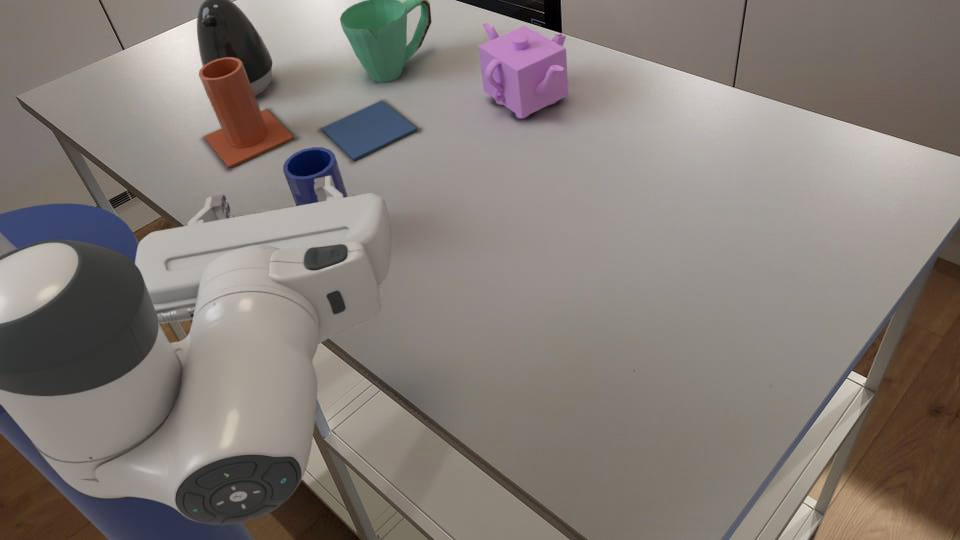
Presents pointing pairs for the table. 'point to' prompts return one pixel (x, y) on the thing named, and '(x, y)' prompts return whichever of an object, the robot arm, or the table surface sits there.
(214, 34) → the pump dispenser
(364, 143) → the blue mat
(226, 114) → the terracotta cup
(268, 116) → the terracotta mat
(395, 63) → the mug
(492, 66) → the teapot
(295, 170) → the blue cup
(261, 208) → the table surface
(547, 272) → the table surface
